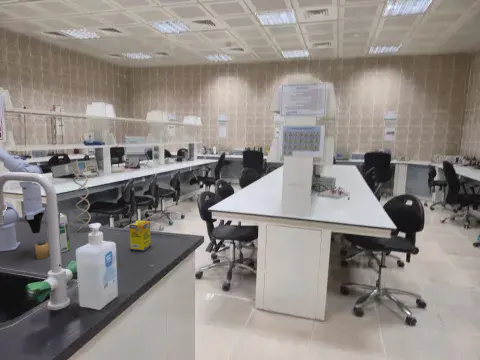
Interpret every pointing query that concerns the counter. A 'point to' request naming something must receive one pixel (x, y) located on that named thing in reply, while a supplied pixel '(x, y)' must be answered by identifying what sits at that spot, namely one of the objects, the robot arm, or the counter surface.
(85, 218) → the dna model
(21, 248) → the counter surface
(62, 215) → the syrup box
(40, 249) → the amber bottle
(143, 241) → the supplement box
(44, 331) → the counter surface
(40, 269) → the counter surface
